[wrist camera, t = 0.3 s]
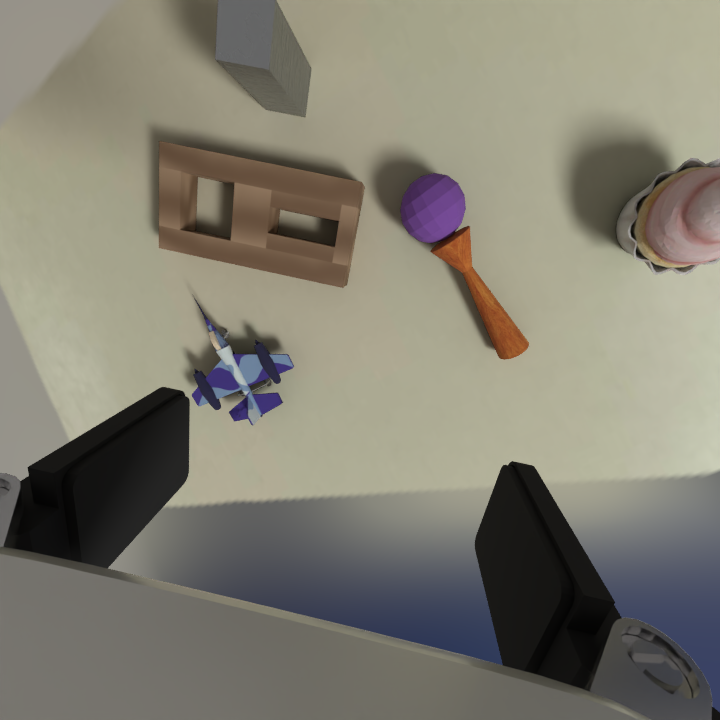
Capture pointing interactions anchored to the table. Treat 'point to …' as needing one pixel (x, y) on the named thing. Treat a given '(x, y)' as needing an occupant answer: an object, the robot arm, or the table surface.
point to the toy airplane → (240, 377)
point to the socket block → (258, 213)
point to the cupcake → (675, 219)
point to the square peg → (263, 54)
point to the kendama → (457, 251)
